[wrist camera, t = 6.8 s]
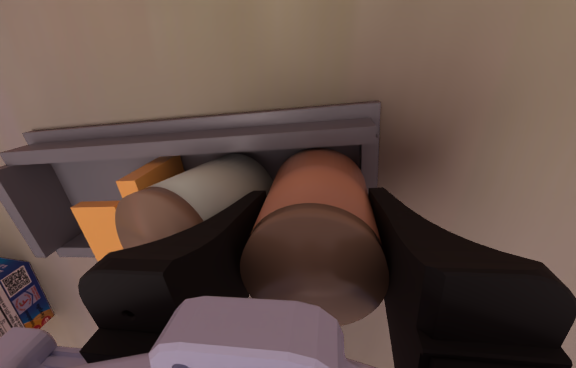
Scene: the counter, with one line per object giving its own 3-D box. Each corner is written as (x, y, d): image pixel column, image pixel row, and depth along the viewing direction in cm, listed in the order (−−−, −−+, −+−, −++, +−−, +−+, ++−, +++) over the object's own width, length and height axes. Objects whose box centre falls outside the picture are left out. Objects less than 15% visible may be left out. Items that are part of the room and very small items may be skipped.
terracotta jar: (366, 227, 14) (387, 330, 9) (280, 229, 15) (255, 324, 10) (365, 143, 12) (391, 213, 7) (266, 152, 13) (224, 220, 8)
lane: (373, 242, 17) (383, 284, 14) (88, 242, 21) (44, 274, 18) (378, 100, 14) (393, 113, 10) (31, 130, 17) (-37, 146, 14)
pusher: (200, 226, 18) (161, 276, 14) (155, 227, 18) (104, 275, 14) (179, 153, 16) (125, 186, 11) (128, 156, 16) (60, 188, 12)
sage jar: (279, 235, 15) (211, 312, 10) (215, 220, 17) (132, 279, 12) (275, 157, 14) (190, 205, 9) (204, 149, 16) (101, 185, 11)
